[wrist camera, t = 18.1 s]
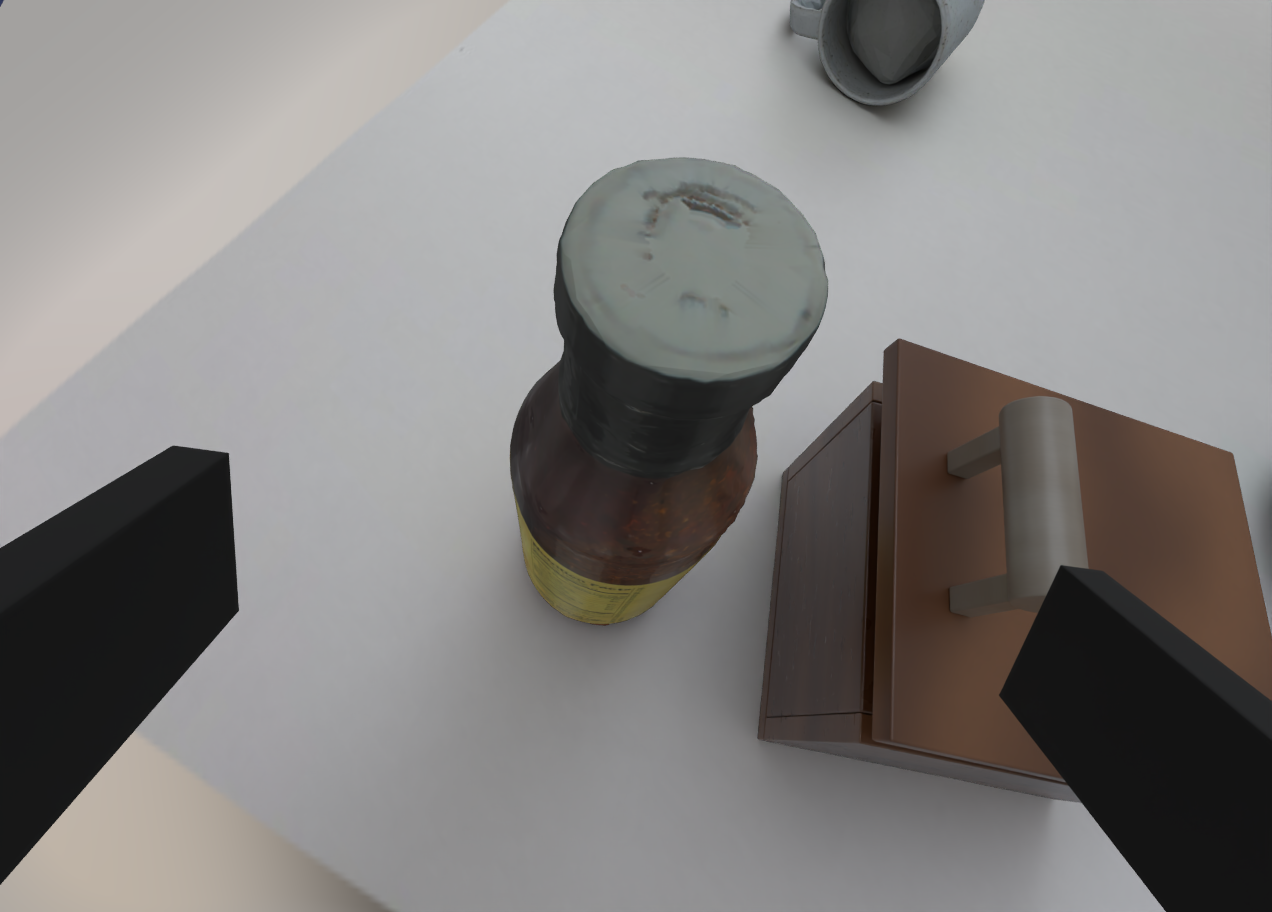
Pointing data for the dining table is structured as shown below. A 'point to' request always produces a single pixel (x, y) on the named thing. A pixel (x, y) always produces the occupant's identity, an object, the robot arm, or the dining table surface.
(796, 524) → the box
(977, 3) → the ceramic mug
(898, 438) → the breadbox lid
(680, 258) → the sauce bottle
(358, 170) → the dining table surface
